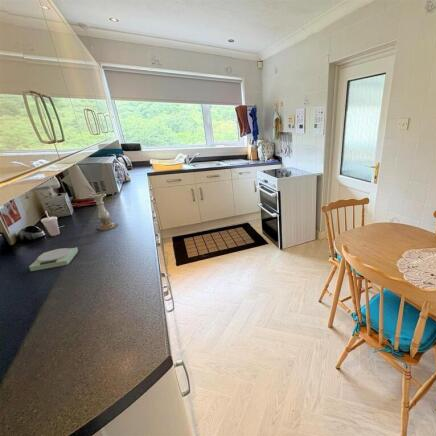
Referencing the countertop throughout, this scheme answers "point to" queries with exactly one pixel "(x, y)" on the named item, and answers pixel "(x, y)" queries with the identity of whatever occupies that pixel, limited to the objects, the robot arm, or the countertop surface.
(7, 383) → the countertop surface
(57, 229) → the smoothie
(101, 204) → the candle holder
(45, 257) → the scale
